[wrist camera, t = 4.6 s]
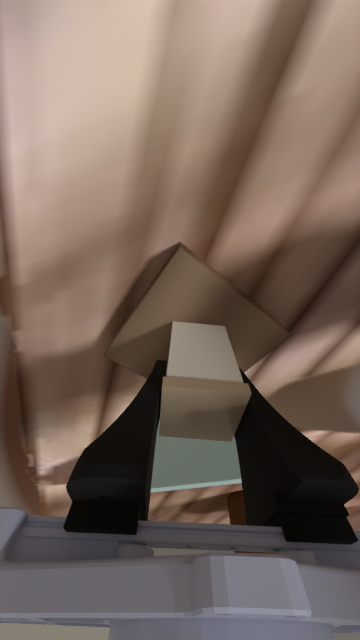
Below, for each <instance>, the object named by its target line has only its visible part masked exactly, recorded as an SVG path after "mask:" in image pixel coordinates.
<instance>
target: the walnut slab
mask: <svg viewBox="0 0 360 640" xmlns="http://www.w3.org/2000/svg"><path fill="white" fill-rule="evenodd" d="M173 321H176V322H187V323H198V324H209V325H220V326H225V328H226V331H227V334H228V337H229V340H230V343H231V346H232V349H233V352H234V355H235V358H236V361H237V364H238V366H239V367H240V368H241V370H242V371H243V372H245V371H247V370H248V369H249V368H250V367H252V366H253V365H254V364H255V363H257V362H258V361H259V360H261V359H262V358H263V357H264V356H266V355H267V354H268V353H269V352H271V351H272V350H273V349H274V348H276V347H277V346H278V345H280V344H281V343H282V342H283V341H285V340H286V339H287V338H288V337H290V336H291V335H290V334H289V332H288V331H287V330H286V329H285V328H284V327H283V325H282V324H281V323H280V322H279V321H278V320H277V319H276V318H275V317H273V316H272V315H271V314H270V313H268V312H267V311H266V310H265V309H263V308H262V307H261V306H260V305H258V304H257V303H256V302H255V301H253V300H252V299H251V298H250V297H248V296H247V295H246V294H245V293H243V292H242V291H241V290H240V289H238V288H237V287H236V286H235V285H233V284H232V283H231V282H230V281H228V280H227V279H226V278H225V277H223V276H222V275H221V274H220V273H218V272H217V271H216V270H215V269H213V268H212V267H211V266H210V265H208V264H207V263H206V262H205V261H203V260H202V259H201V258H200V257H198V256H197V255H196V254H195V253H193V252H192V251H191V250H190V249H188V248H187V247H186V246H185V245H183V244H182V243H181V242H180V243H179V244H178V246H177V247H176V249H175V250H174V251H173V253H172V254H171V256H170V257H169V259H168V260H167V262H166V263H165V264H164V266H163V267H162V269H161V270H160V272H159V273H158V274H157V276H156V277H155V279H154V280H153V282H152V283H151V284H150V286H149V287H148V289H147V290H146V292H145V293H144V295H143V296H142V297H141V299H140V300H139V302H138V303H137V305H136V306H135V307H134V309H133V310H132V312H131V313H130V315H129V316H128V317H127V319H126V320H125V322H124V323H123V325H122V326H121V327H120V329H119V330H118V332H117V333H116V335H115V336H114V338H113V339H112V341H111V343H110V344H109V346H108V348H107V350H106V352H105V354H104V357H106V358H108V359H110V360H112V361H114V362H116V363H118V364H120V365H122V366H124V367H126V368H128V369H130V370H132V371H134V372H136V373H138V374H140V375H142V376H144V377H146V378H148V377H149V375H150V374H151V372H152V370H153V368H154V365H155V363H156V361H157V360H167V364H166V376H167V367H168V359H169V350H170V342H171V333H172V324H173Z"/></svg>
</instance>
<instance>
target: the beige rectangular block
mask: <svg viewBox="0 0 360 640" xmlns="http://www.w3.org/2000/svg"><path fill="white" fill-rule="evenodd" d="M251 394H252V393H251V390H250V387H249V385H248V384H247V383H244V382H243V379H242V376H241V373H240V370H239V367H238V364H237V361H236V358H235V355H234V352H233V349H232V346H231V343H230V340H229V337H228V334H227V331H226V328H225V326H220V325H209V324H198V323H187V322H176V321H173V324H172V333H171V342H170V350H169V359H168V367H167V376H166V377H164V376H163V383H162V395H161V411H160V428H159V436H164V437H176V438H189V439H202V440H215V441H228V442H232V439H233V437H234V435H235V432H236V430H237V427H238V425H239V423H240V420H241V418H242V415H243V413H244V411H245V408H246V406H247V404H248V401H249V399H250V396H251Z"/></svg>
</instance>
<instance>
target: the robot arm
mask: <svg viewBox="0 0 360 640" xmlns="http://www.w3.org/2000/svg"><path fill="white" fill-rule="evenodd" d="M166 364H167V360H157V361H156V363H155V365H154V368H153V370H152V372H151V374H150V375H149V377H148V379H147V381H146V382H145V384H144V385H143V387H142V388H141V390H140V391H139V393H138V394H137V396H136V397H135V398H134V400H133V401H132V402H131V404H130V405H129V406H128V407H127V408H126V410H125V411H124V412H123V413H122V414H121V415H120V416H119V417H118V419H117V420H116V421H115V422H114V423H113V424H112V425H111V426H110V427H109V428H108V429H107V430H106V431H105V432H103V433H102V434H101V435H100V436H99V437H98V438H97V439H96V440H94V441H93V442H92V443H91V444H90V445H89V446H88V447H86V448H85V450H84V451H83V453H82V454H81V456H80V458H79V459H78V461H77V463H76V465H75V467H74V469H73V471H72V474H71V476H70V478H69V481H68V483H67V486H66V488H67V492H68V494H69V496H70V498H71V500H72V505H71V508H70V510H69V513H68V516H67V517H56V516H35V515H27V512H26V511H25V510H24V509H21V508H16V507H0V623H22V624H44V625H47V624H48V625H68V626H90V627H110V631H109V637H108V640H336V638H335V635H334V633H360V531H355V530H353V529H352V527H351V525H350V523H349V521H348V520H347V518H346V516H349V514H348V511H347V509H346V508H345V506H344V504H345V503H347V502H348V501H349V500H351V499H352V498H353V497H355V496H356V495H357V493H358V490H359V488H358V486H357V484H356V483H355V481H354V479H353V478H352V476H351V475H350V473H349V471H348V470H347V468H346V467H345V466H344V464H343V463H341V462H340V461H338V460H337V459H336V458H334V457H333V456H331V455H330V454H328V453H327V452H325V451H324V450H322V449H321V448H320V447H318V446H317V445H316V444H314V443H313V442H312V441H311V440H309V439H308V438H307V437H305V436H304V435H303V434H302V433H300V432H299V431H298V430H297V429H296V428H295V427H293V426H292V425H291V424H290V423H289V422H288V421H287V420H285V419H284V418H283V417H282V416H281V415H280V414H279V413H278V412H277V411H276V410H275V409H274V408H273V407H272V406H271V405H270V404H269V403H268V402H267V400H266V399H265V398H264V397H263V396H262V395H261V394H260V392H259V391H258V390H257V389H256V388H255V386H254V385H253V384H252V383H251V381H250V380H249V379H248V378H247V376H246V375H245V374H244V372H243V371H242V370H241V368H240V367H239V366H238V367H239V370H240V373H241V376H242V379H243V382H244V383H247V384H248V385H249V387H250V390H251V393H252V394H251V396H250V399H249V401H248V404H247V406H246V408H245V411H244V413H243V415H242V418H241V420H240V423H239V425H238V427H237V430H236V432H235V435H234V436H235V441H236V447H237V453H238V459H239V466H240V473H241V480H242V488H243V497H244V506H245V516H246V525H227V524H205V523H184V522H163V521H148V511H149V502H150V492H151V482H152V473H153V463H154V454H155V445H156V436H157V429H158V424H159V419H160V411H161V395H162V383H163V376H164V377H166ZM146 547H153V548H176V549H200V550H222V551H223V550H224V551H246V552H270V553H277V554H254V553H229V552H210V553H205V554H194V555H193V554H191V555H170V556H153V554H154V551H153V550H152V549H151V548H146Z"/></svg>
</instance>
